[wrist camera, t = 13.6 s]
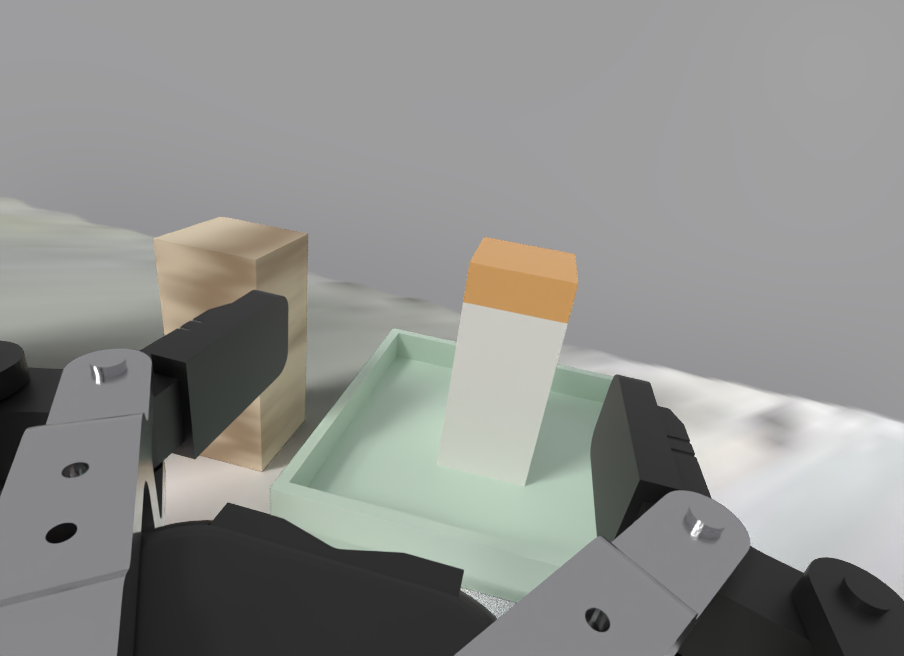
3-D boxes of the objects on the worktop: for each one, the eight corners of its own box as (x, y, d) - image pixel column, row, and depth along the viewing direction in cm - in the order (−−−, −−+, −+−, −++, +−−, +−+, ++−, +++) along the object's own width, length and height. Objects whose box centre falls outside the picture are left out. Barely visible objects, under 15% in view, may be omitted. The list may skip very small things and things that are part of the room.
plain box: (178, 449, 28) (153, 238, 22) (232, 401, 32) (221, 216, 27) (262, 471, 27) (255, 259, 22) (304, 419, 31) (308, 233, 26)
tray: (270, 533, 23) (269, 488, 22) (390, 359, 40) (393, 328, 38) (662, 643, 21) (684, 600, 20) (620, 412, 37) (631, 380, 36)
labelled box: (436, 464, 28) (469, 262, 23) (453, 415, 33) (484, 236, 28) (524, 486, 28) (578, 283, 22) (529, 433, 32) (575, 254, 27)
